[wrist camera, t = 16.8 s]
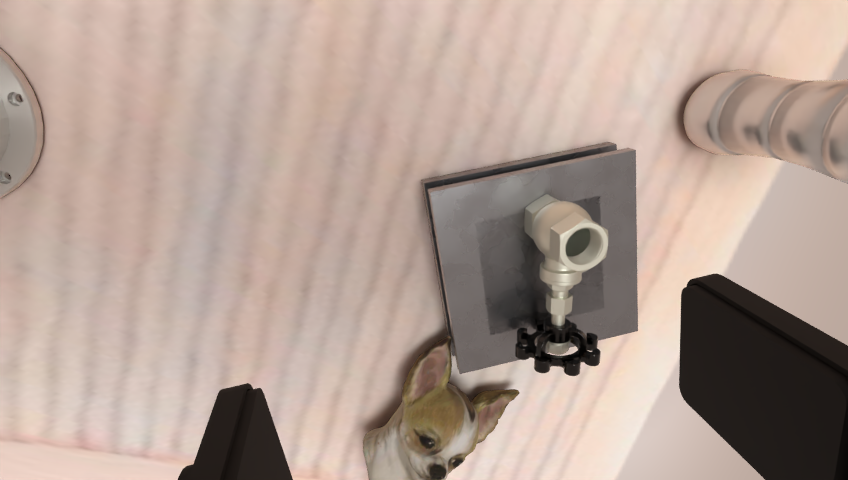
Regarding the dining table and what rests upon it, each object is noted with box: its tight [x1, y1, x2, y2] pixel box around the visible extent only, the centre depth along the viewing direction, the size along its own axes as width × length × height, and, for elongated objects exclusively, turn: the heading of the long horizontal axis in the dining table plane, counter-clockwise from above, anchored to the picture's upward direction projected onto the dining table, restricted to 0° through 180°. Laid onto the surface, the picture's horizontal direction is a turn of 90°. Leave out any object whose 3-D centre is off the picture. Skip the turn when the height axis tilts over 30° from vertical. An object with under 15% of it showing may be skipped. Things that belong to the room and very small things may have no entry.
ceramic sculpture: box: [363, 336, 519, 480], centre depth 44 cm, size 11×9×15 cm
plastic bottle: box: [684, 70, 848, 183], centre depth 33 cm, size 6×7×20 cm
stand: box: [421, 142, 638, 374], centre depth 42 cm, size 16×16×4 cm
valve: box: [515, 194, 608, 376], centre depth 37 cm, size 7×7×12 cm
